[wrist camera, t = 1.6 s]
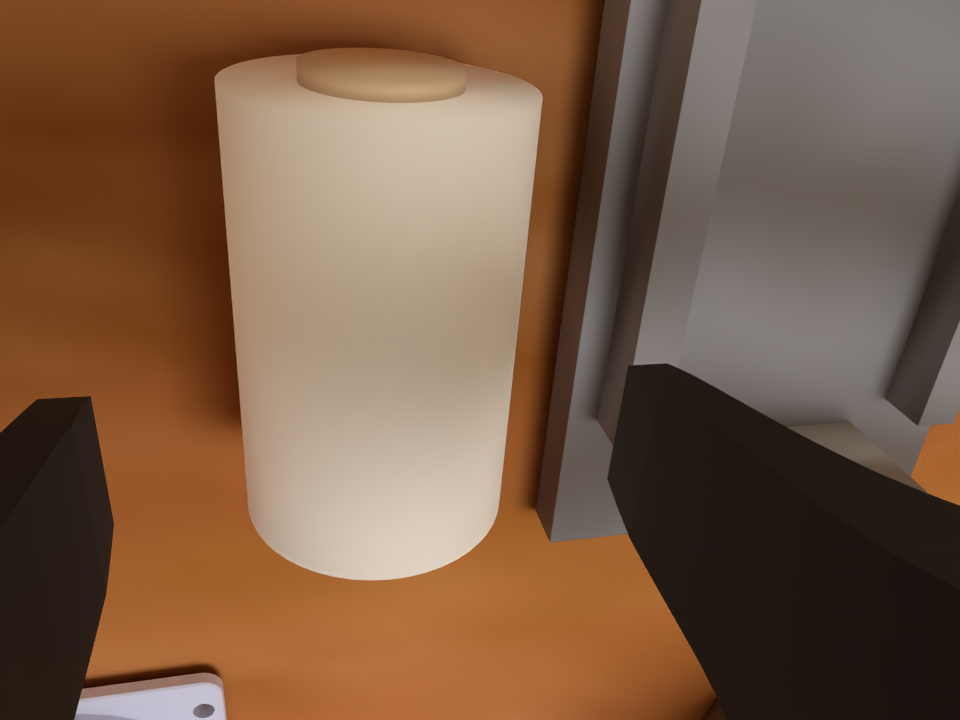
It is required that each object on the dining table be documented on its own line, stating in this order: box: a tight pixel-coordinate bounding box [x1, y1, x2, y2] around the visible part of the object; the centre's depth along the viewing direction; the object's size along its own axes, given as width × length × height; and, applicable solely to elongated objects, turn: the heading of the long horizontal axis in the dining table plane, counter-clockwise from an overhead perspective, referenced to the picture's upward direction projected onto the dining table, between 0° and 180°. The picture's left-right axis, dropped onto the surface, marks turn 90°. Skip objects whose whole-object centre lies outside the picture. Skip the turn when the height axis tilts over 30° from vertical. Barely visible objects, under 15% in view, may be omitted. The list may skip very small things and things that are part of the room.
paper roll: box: [214, 48, 543, 580], centre depth 15 cm, size 9×5×5 cm, turn 176°
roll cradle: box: [536, 0, 960, 542], centre depth 17 cm, size 16×10×4 cm, turn 176°
